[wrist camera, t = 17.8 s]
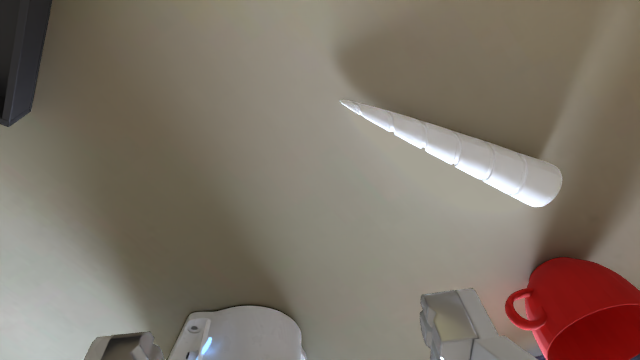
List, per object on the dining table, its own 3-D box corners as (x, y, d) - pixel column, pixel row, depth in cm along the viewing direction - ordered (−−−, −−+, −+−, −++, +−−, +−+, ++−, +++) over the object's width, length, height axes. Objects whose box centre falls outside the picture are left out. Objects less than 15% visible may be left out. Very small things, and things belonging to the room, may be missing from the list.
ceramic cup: (504, 229, 47) (552, 295, 38) (624, 243, 49) (692, 307, 41) (463, 300, 54) (495, 369, 45) (570, 309, 56) (619, 376, 48)
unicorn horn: (358, 61, 34) (368, 79, 30) (549, 158, 41) (577, 182, 37) (333, 106, 36) (339, 128, 32) (518, 190, 44) (541, 217, 40)
